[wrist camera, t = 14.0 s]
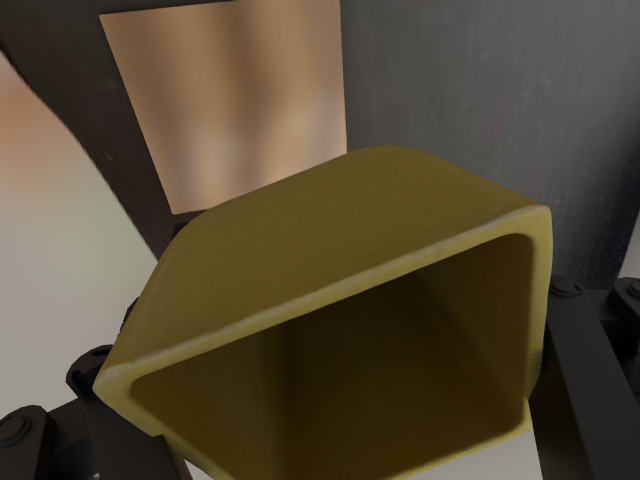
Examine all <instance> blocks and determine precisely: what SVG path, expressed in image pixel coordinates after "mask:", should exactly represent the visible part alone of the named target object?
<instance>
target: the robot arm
mask: <svg viewBox="0 0 640 480" xmlns="http://www.w3.org/2000/svg"><path fill="white" fill-rule="evenodd" d="M188 223H189V222H184V223H178V224H175V228H174V231H173V235H172V238H171V241H172V240H173V239H174V237H175V236H176V235H177V234H178V233H179V231H180V230H181V229H182V228H183V227H185V226H186V225H187V224H188ZM170 243H171V242H170ZM138 298H139V297H137V298H136V300H135V301H134V302H133V303H132V304H131V305H130V307H129V308H128V309H127V312H126V314H125V317H124V320H123V323H122V325H121V328H120V332H121V330H122V328H123V326H124V324H125V323H126V321H127V319H128V317H129V315H130V313H131V311H132V310H133V308H134V306H135V304H136V302H137V300H138ZM119 334H120V333H119ZM119 334H118V336H119ZM118 336H117V338H118ZM112 347H113V345H112V344H111V345H102V346H99V347H97V348H94V349H92V350H90V351H88V352H87V353H85V354H84V355H82V356H80V357H79V358H78V359H77V360H76V361H75V362H74V363H73V364H72V365H71V367H70V369H69V371H68V372H67V375H66V383H67V384H68V385H69V387H70V388H71V389H72V390H73V392H74V393H75V394H76V395H77V397H78V398H77V399H75V400H73V401H71V402H69V403H66V404H64V405H62V406H60V407H58V408H56V409H54V410H51V411H50V412H46V411H45V410H44V409H43V408H42V407H41V406H37V405H30V406H26V407H21V408H19V409H17V410H15V411H13V412H11V413H9V414H8V415H6V416H5V417H4V418H2V419H1V420H0V480H193V479H192V476H191V474H190V472H189V470H188V467H187V465H186V463H185V460H184V458H182V457H181V456H179V455H177V454H176V453H175V452H174V451H173V450H172V448H171V447H170V445H169V443H168V442H167V440H166V439H165V437H164V436H163V434H161V435H157V436H154V437H152V436H150V435H148V434H147V433H145V432H144V431H142V430H141V429H139V428H138V427H137V426H135V425H134V424H132V423H131V422H129V421H128V420H126V419H125V418H124V417H122V416H121V415H120V414H118V413H117V412H116V411H115V410H114V409H112V408H110V407H109V406H108V405H106V404H105V403H104V402H103V401H102V400H101V399H100V398H99V397H98V396H97V395H96V394H95V392H94V391H93V384H94V382H95V379H96V377H97V375H98V372H99V370H100V369H101V367H102V365H103V364H104V362H105V360H106V359H107V357H108V355H109V353H110V351H111V349H112ZM528 404H529V409H530V414H531V420H532V425H533V430H534V435H535V441H536V446H537V451H538V456H539V462H540V467H541V472H542V477H543V480H640V279H638V278H631V277H624V278H619V279H617V280H616V281H615V282H614V283H613V285H612V287H611V289H610V290H595V289H584V288H583V286H581V285H580V284H578V283H577V282H576V281H573V280H571V279H569V278H566V277H562V276H557V275H551V277H550V283H549V289H548V296H547V312H546V320H545V328H544V337H543V350H542V364H541V372H540V375H539V378H538V380H537V382H536V384H535V386H534V389H533V391H532V393H531V395H530V397H529V399H528ZM97 473H99V476H100V477H96V478H94V475H95V474H97Z"/></svg>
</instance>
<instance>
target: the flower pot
mask: <svg viewBox="0 0 640 480" xmlns="http://www.w3.org/2000/svg"><path fill="white" fill-rule="evenodd" d="M552 251H553V236H552V220H551V213H550V209H549V208H548V207H547V206H546V205H544V204H541V203H539V202H536V201H534V200H532V199H530V198H527V197H525V196H523V195H521V194H519V193H516V192H514V191H512V190H510V189H507V188H505V187H503V186H501V185H498V184H496V183H494V182H492V181H490V180H487V179H485V178H483V177H480V176H478V175H476V174H474V173H472V172H470V171H467V170H465V169H463V168H461V167H458V166H456V165H454V164H451V163H449V162H447V161H444V160H442V159H440V158H438V157H435V156H433V155H431V154H429V153H426V152H423V151H420V150H418V149H414V148H411V147H407V146H401V145H377V146H371V147H365V148H361V149H358V150H354V151H352V152H349V153H346V154H343V155H341V156H338V157H336V158H334V159H331V160H329V161H326V162H324V163H322V164H319V165H317V166H314V167H312V168H309V169H307V170H304V171H302V172H299V173H297V174H294V175H291V176H289V177H286V178H284V179H281V180H279V181H276V182H274V183H271V184H269V185H266V186H264V187H261V188H259V189H256V190H254V191H251V192H249V193H246V194H243V195H241V196H238V197H236V198H233V199H230V200H228V201H225V202H223V203H221V204H218V205H216V206H214V207H212V208H210V209H208V210H207V211H205V212H203V213H202V214H200V215H199V216H197V217H196V218H194V219H193V220H192V221H190V222H189V223H188V224H187V225H186V226H185V227H183V228H182V229H181V230H180V231H179V233H178V234H177V235H176V236H175V237H174V239H173V240H172V241H171V243H170V244H169V245H168V247H167V248H166V250H165V252H164V253H163V255H162V257H161V259H160V260H159V262H158V264H157V266H156V267H155V269H154V271H153V273H152V275H151V277H150V278H149V280H148V282H147V284H146V286H145V288H144V289H143V291H142V293H141V295H140V297H139V298H138V300H137V302H136V304H135V306H134V308H133V310H132V311H131V313H130V315H129V317H128V319H127V321H126V323H125V324H124V326H123V328H122V330H121V332H120V334H119V336H118V338H117V339H116V342H115V343H114V345H113V347H112V349H111V351H110V353H109V355H108V357H107V359H106V360H105V362H104V364H103V365H102V367H101V369H100V370H99V372H98V375H97V377H96V379H95V382H94V384H93V391H94V392H95V394H96V395H97V396H98V397H99V398H100V399H101V400H102V401H103V402H104V403H105V404H106V405H108V406H109V407H110V408H112V409H114V410H115V411H116V412H117V413H118V414H120V415H121V416H122V417H124V418H125V419H126V420H128V421H129V422H131V423H132V424H134V425H135V426H137V427H138V428H139V429H141V430H142V431H144V432H145V433H147V434H148V435H150V436H152V437H154V436H157V435H161V434H163V436H164V437H165V439H166V440H167V442H168V443H169V445H170V447H171V448H172V450H173V451H174V452H175V453H176V454H177V455H179V456H181V457H182V458H184V459H185V460H187V461H188V462H190V463H191V464H193V465H194V466H196V467H198V468H199V469H201V470H202V471H204V472H205V473H206V474H207V475H208V476H210V477H211V478H212V479H214V480H402V479H405V478H407V477H410V476H413V475H415V474H418V473H421V472H424V471H426V470H429V469H432V468H434V467H437V466H440V465H442V464H444V463H447V462H450V461H452V460H455V459H458V458H461V457H464V456H467V455H469V454H472V453H475V452H477V451H480V450H482V449H485V448H488V447H490V446H493V445H496V444H499V443H501V442H504V441H506V440H508V439H511V438H514V437H516V436H519V435H521V434H524V433H526V432H528V431H529V430H530V429H531V426H532V420H531V414H530V409H529V404H528V399H529V397H530V395H531V393H532V391H533V389H534V386H535V384H536V382H537V380H538V378H539V375H540V372H541V364H542V350H543V337H544V328H545V320H546V312H547V296H548V289H549V283H550V277H551V268H552Z"/></svg>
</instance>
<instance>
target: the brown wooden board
mask: <svg viewBox="0 0 640 480" xmlns="http://www.w3.org/2000/svg"><path fill="white" fill-rule="evenodd" d="M99 18H100V21H101V23H102V26H103V29H104V31H105V34H106V37H107V39H108V42H109V45H110V47H111V50H112V53H113V55H114V58H115V61H116V63H117V66H118V69H119V72H120V74H121V77H122V80H123V82H124V85H125V88H126V90H127V93H128V96H129V98H130V101H131V104H132V106H133V109H134V112H135V114H136V117H137V120H138V122H139V125H140V128H141V130H142V133H143V136H144V138H145V141H146V144H147V146H148V149H149V152H150V154H151V157H152V160H153V162H154V165H155V168H156V170H157V173H158V176H159V179H160V181H161V184H162V187H163V189H164V192H165V195H166V197H167V200H168V203H169V205H170V208H171V211H172V213H173V215H174V214H180V213H186V212H192V211H198V210H204V209H210V208H212V207H214V206H216V205H218V204H221V203H223V202H225V201H228V200H230V199H233V198H236V197H238V196H241V195H243V194H246V193H249V192H251V191H254V190H256V189H259V188H261V187H264V186H266V185H269V184H271V183H274V182H276V181H279V180H281V179H284V178H286V177H289V176H291V175H294V174H297V173H299V172H302V171H304V170H307V169H309V168H312V167H314V166H317V165H319V164H322V163H324V162H326V161H329V160H331V159H334V158H336V157H338V156H341V155H343V154H346V153H347V140H346V119H345V98H344V77H343V56H342V35H341V14H340V0H234V1H224V2H215V3H205V4H196V5H186V6H177V7H167V8H158V9H148V10H139V11H130V12H120V13H111V14H101V15H99Z"/></svg>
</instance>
